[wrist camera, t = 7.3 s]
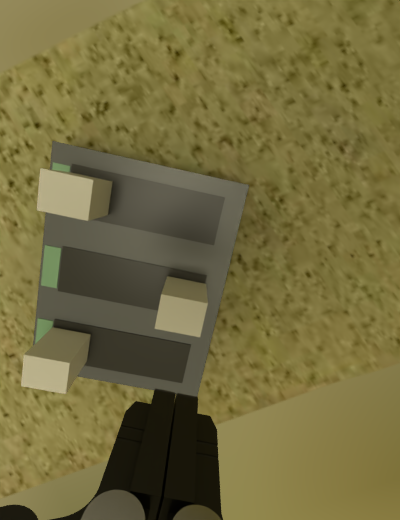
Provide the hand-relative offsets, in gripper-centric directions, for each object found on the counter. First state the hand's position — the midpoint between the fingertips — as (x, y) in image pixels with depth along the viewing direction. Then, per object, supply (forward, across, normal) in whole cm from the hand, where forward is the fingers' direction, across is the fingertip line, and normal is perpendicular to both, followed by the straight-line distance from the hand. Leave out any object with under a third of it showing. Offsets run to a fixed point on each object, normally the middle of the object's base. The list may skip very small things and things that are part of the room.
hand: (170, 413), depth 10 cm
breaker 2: (+13, +8, +7) cm, 17 cm away
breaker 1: (+13, +8, -5) cm, 16 cm away
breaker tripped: (+13, 0, +1) cm, 13 cm away
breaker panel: (+16, +4, +1) cm, 17 cm away
